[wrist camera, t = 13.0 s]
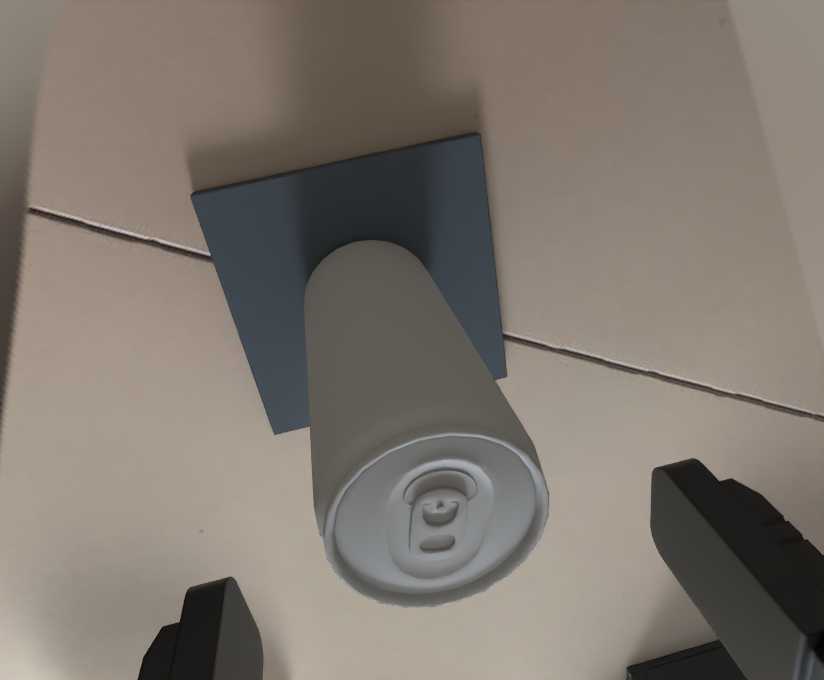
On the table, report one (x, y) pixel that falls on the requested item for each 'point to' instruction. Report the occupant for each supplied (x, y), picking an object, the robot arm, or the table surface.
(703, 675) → the bin
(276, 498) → the table surface
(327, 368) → the beverage can
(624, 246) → the table surface
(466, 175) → the mat
